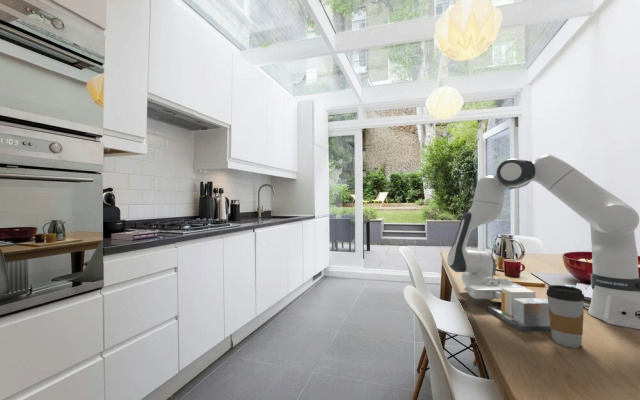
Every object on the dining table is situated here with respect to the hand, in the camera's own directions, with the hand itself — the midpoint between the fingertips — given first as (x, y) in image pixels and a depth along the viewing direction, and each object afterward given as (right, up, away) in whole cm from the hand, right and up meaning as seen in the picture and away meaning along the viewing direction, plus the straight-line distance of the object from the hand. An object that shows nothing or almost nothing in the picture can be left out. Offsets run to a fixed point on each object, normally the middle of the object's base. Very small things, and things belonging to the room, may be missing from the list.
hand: (509, 298), depth 105 cm
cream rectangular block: (-1, -4, -4) cm, 6 cm away
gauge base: (0, -5, -6) cm, 8 cm away
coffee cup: (+2, -5, -23) cm, 23 cm away
